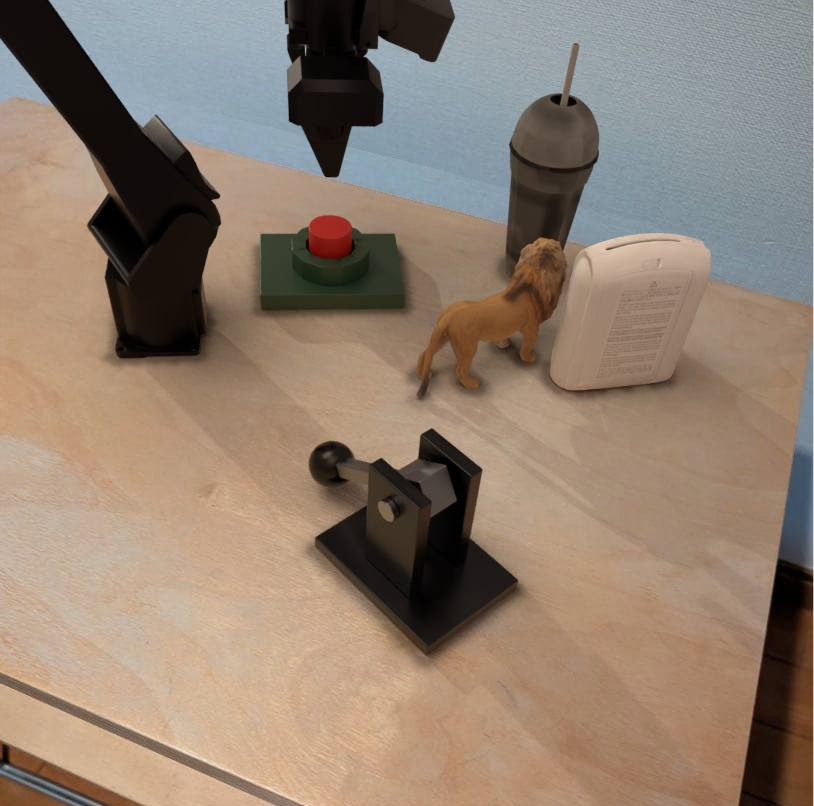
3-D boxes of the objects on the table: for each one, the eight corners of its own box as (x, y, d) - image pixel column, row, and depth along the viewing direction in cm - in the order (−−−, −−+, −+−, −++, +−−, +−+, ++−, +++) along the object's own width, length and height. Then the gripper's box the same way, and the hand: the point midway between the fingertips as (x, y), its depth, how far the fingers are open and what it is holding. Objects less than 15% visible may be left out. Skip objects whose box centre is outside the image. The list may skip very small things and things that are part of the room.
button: (309, 260, 76) (309, 238, 74) (308, 236, 78) (307, 214, 76) (352, 260, 76) (353, 238, 74) (350, 236, 78) (350, 214, 77)
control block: (261, 312, 76) (258, 276, 73) (261, 250, 82) (258, 214, 79) (403, 310, 77) (406, 275, 75) (394, 249, 83) (396, 214, 80)
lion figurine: (519, 312, 78) (537, 218, 71) (566, 343, 76) (590, 249, 69) (395, 386, 71) (401, 289, 64) (443, 422, 69) (455, 325, 62)
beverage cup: (569, 253, 84) (623, 22, 69) (570, 300, 80) (628, 64, 64) (491, 244, 84) (527, 11, 69) (488, 291, 80) (525, 53, 64)
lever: (308, 492, 63) (293, 450, 61) (345, 471, 64) (330, 430, 63) (425, 528, 53) (410, 480, 51) (465, 502, 54) (451, 454, 53)
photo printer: (657, 350, 76) (704, 216, 66) (678, 384, 73) (730, 250, 64) (541, 362, 74) (572, 226, 65) (558, 398, 72) (593, 262, 62)
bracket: (314, 548, 61) (312, 443, 53) (404, 492, 64) (413, 387, 57) (425, 657, 56) (440, 560, 48) (515, 590, 59) (542, 490, 52)
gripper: (472, -9, 54) (447, 227, 66) (435, -113, 65) (419, 104, 78) (283, -15, 53) (292, 227, 65) (279, -120, 64) (288, 102, 76)
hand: (330, 159), depth 71 cm, fingers open, 5 cm apart
